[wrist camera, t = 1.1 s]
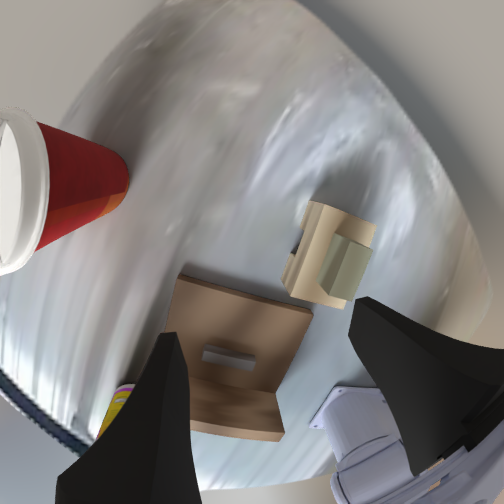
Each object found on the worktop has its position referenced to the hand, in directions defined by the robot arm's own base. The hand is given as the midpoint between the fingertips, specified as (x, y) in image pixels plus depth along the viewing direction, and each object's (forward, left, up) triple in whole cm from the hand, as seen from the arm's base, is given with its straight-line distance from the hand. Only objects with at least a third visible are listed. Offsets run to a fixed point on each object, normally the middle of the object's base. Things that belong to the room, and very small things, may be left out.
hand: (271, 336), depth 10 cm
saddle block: (-6, -2, -14) cm, 16 cm away
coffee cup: (+15, -2, -15) cm, 21 cm away
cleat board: (-1, +10, -14) cm, 17 cm away
